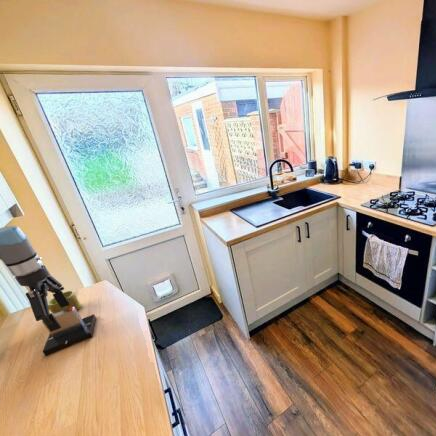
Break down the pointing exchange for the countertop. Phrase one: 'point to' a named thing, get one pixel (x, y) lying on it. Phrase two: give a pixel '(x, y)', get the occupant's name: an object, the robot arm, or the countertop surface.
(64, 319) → the tap handle
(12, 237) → the robot arm
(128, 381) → the countertop surface
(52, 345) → the base
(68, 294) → the mug
